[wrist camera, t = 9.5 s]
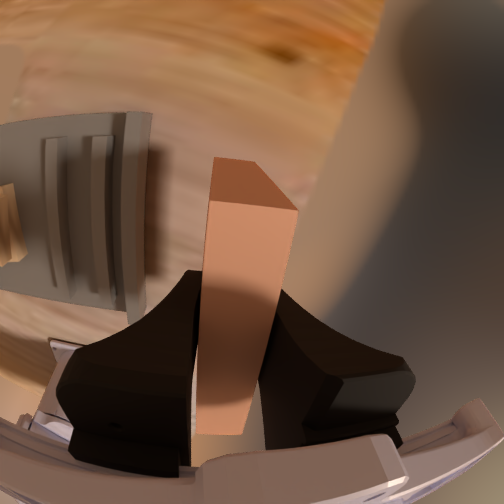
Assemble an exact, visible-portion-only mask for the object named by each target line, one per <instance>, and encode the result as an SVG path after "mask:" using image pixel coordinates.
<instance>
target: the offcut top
mask: <svg viewBox="0 0 504 504" xmlns="http://www.w3.org/2000/svg"><path fill="white" fill-rule="evenodd" d="M11 259H12V254H11V245H10V235H9V221H8V195H6V194H0V266H1V267H3V266H4V265H5V264H6V263H7V262H8V261H10V260H11Z"/></svg>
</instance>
